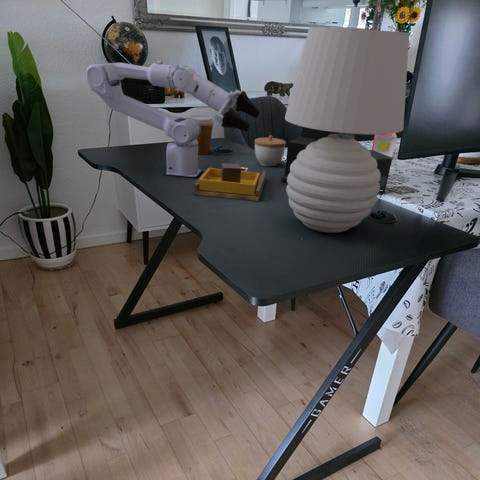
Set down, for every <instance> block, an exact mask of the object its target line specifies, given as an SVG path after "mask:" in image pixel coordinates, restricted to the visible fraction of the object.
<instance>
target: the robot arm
mask: <svg viewBox="0 0 480 480" xmlns="http://www.w3.org/2000/svg"><path fill="white" fill-rule="evenodd" d="M125 78H126V79H127V78H128V79H136V80H147V81H148V82H149V83H150V84H151V85H152V86H154V87H162V88H168V89H176V90H177V91H178V92H186V93H188V94H189V95H190V96H192V97H193V98H195V99H196V100H198V101H199V102H201V103H203V104H204V105H205V106H208V107H209V108H211V109H212V110H214V111H215V112H216V113H215V117H214V122H215V121H216V122H217V123H218V124H221V127H222V128H232V129H237V130H240V131H244V132H248V131H249V130H250V126H251V124H250V123H249V122H248V121H247V120H245V119H244V118H243V117H241V116H240V115H239V114H238V113H237V112H241V113H244V114H247V115H249V116H251V117H253V118H255V119H258V117H259V115H260V113H261V111H260V109H259V108H258V107H257V106H256V105H255V104H254V103H253V102H252V100H251V99H250V98H249V96H248V94H247V92H246V91H244V90H242V91H241V90H239V89H236V90H235V91H232V90H231V91H230V92H228V91H226V90H224V89H223V88H222V87H220V86H218V85H216V84H215V83H213V82H212V81H211V80H208V79H207V78H205V77H203V76H201V75H200V74H198V73H197V72H196V71H195V69H194V68H192V67H190V66H188V65H184V66H182V67H179V64H178V63H174V64H164V63H163V61H161V60H158V61H156V62H153V63H151V65H150V66H143V65H138V64H137V65H136V64H131V63H126V62H105V63H99V64H98V63H92V64H89V65H88V66H87V68H86V70H85V79H86V82H87V84H88V87H89V89H90V90H91V91H92V92H93V93H95V94H96V95H98V97H99V98H100V99H101V100H102V101H103V102H104V103H105V104H106V105H107V107H108V108H109V109H111V110H112V111H115V112H117V113H120V114H122V115H125V116H127V117H129V118H132V119H134V120H136V121H138V122H141V123H144V124H146V125H148V126H150V127H153V128H156V129H157V130H160V131H162V132H164V134H165V136H167V137H169V138H171V139H172V140H173V141H174V142H168V143H167V145H166V150H165V152H166V153H165V154H166V155H165V156H166V157H165V159H166V175H168V176H177V177H186V178H187V177H188V178H197V177H198V176H199V175H200V174H201V172H202V169H199V154H198V141H197V137H198V136H199V134H200V125H199V123H198V122H197V121H196V120H195V119H193V118H189V117H182V116H180V115H173V114H170V113H168V112H165V111H163V110H161V109H158V108H156V107H154V106H152V105H149V104H147V103H144V102H142V101H140V100H137V99H135V98H133V97H131V96H128V95H125V94H124V92H123V88H122V83H121V80H124V79H125ZM235 105H236V106H235ZM234 106H235V110H234V108H233V107H234Z"/></svg>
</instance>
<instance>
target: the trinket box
mask: <svg viewBox="0 0 480 480" xmlns="http://www.w3.org/2000/svg"><path fill="white" fill-rule="evenodd" d="M286 145H287V141H286V140H284V139H281V138H275V137H273V135H271V134H270V135H268V137H258V138H255V139H254V155H255V158H256V160H257V162H259V165H261V166H265V167H276V166H278V164H279V163H280V162H281V161H282V160H283V158H284V155H285V152H286Z"/></svg>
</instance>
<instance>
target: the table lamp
mask: <svg viewBox="0 0 480 480" xmlns="http://www.w3.org/2000/svg"><path fill="white" fill-rule="evenodd" d="M409 41H410V32H403V31H394V30H393V31H392V30H378V29H364V28H363V29H361V28H347V27H330V26H329V27H328V26H309V27H308V31H307V35H306V38H305V41H304V45H303V49H302V52H301V57H300V61H299V64H298V67H297V71H296V75H295V78H294V82H293V86H292V89H291V94H290V97H289V100H288V105H287V108H286V112H285V115H284V120H285V121H286V122H288V123H289V124H293V125H295V126H299V127H301V128H302V127H307V128H311V129H317V130H323V131H330V132H339V134H330V135H328V137H325V138H321V139H319V140H318V141H316V142H312V143H310V144H309V145H308V146H307V147H306V149H304V150H302V151H300V152H299V154H298V155H297V159H296V160H294V161H293V162H292V164H291V166H290V173H289V174H288V177H287V182H286V183H287V185H286V190H285V191H286V195H287V197H288V205H289V207H290V208H291V209H292V210H293V211H292V212H293V214H294V216H295V217H296V218H297V219H298V220H299V221H300V222H301V223H302V224H303V225H304V226H305V227H307V228H309V229H311V230H314V231H317V232H320V233H329V234H330V233H333V234H336V233H337V234H338V233H343V232H346V231H348V230H350V229H352V228H354V227H356V226H358V225H360V224H361V223H362V222H363V219H365V218H367V217H368V216H369V215H370V213H371V212H372V208H373V207H374V206H375V205H376V203H377V201H378V195H379V194H378V193H379V190H380V184H379V181H380V177H381V174H380V171H379V169H377V162H376V159H374V158H373V157H372V156H371V153H370V151H369V150H370V149H368V148H367V147H366V146H363V144H362V143H361V142H359V141H358V140H355V139H354V137H353V136H351V135H353V134H354V135H375V134H392V133H396V134H398V133H401V132H402V131H404V128H405V127H404V125H405V110H406V109H405V108H406V92H407V75H408V59H409V44H410V43H409ZM343 133H345V135H343ZM348 134H351V135H348Z"/></svg>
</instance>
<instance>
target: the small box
mask: <svg viewBox="0 0 480 480" xmlns="http://www.w3.org/2000/svg"><path fill="white" fill-rule="evenodd" d="M368 150H369V151H370V153H371V156H372V157H373V158H374V159H376V162H377V169H379V171H380V174H381V177H380V181H379V184H380V190H383V191H380V190H379V193H378V194H377V195H381V194H386V189H387V184H388V180H389V175H390V170H391V166H392V163H393V159H394V158H393V157H389V156H387V155H384V154H381V153H379V152H376V151H373V150H372V149H368Z"/></svg>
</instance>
